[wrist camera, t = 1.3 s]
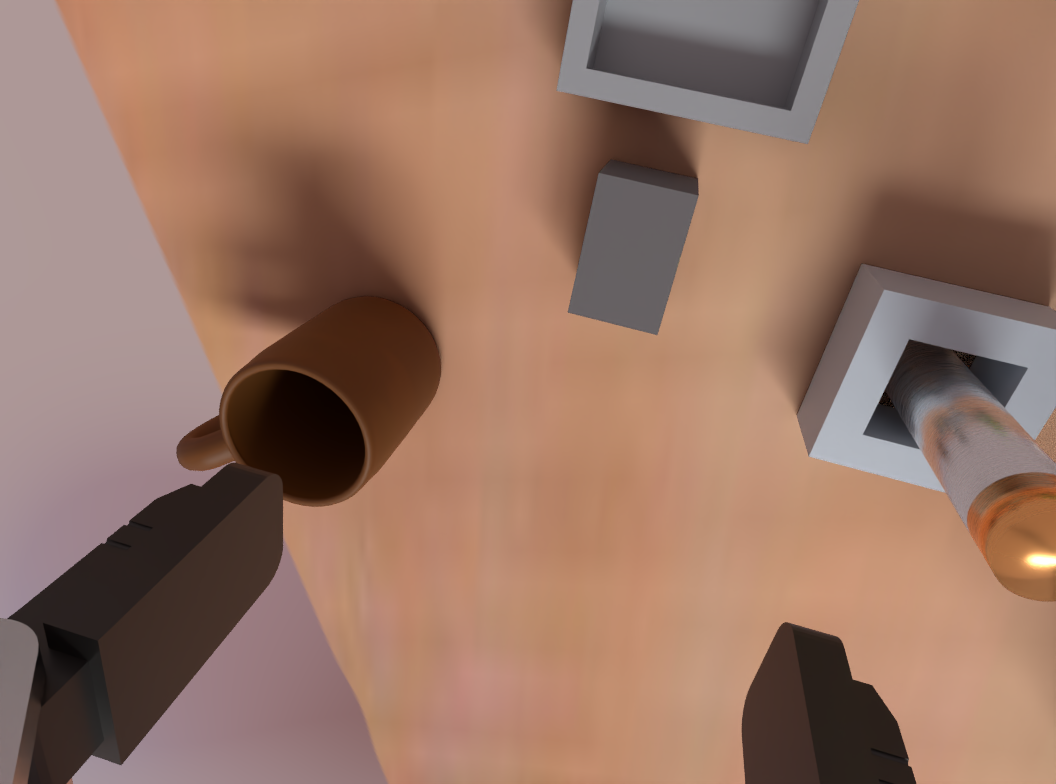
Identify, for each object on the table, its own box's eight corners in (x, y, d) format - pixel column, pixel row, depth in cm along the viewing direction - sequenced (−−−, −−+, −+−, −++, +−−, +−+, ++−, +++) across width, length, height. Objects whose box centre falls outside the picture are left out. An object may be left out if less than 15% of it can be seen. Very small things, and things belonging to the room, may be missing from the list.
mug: (295, 443, 42) (196, 536, 33) (235, 332, 39) (112, 403, 31) (466, 401, 38) (402, 495, 29) (412, 274, 35) (325, 338, 27)
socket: (1049, 306, 29) (1098, 339, 25) (961, 458, 33) (993, 505, 29) (861, 263, 30) (884, 289, 26) (796, 415, 34) (808, 456, 30)
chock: (699, 178, 30) (699, 195, 26) (662, 302, 33) (658, 335, 29) (609, 158, 30) (597, 172, 27) (581, 282, 33) (566, 312, 29)
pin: (965, 342, 30) (1150, 529, 18) (933, 403, 32) (1084, 614, 20) (893, 325, 31) (1027, 497, 18) (864, 386, 32) (970, 582, 20)
